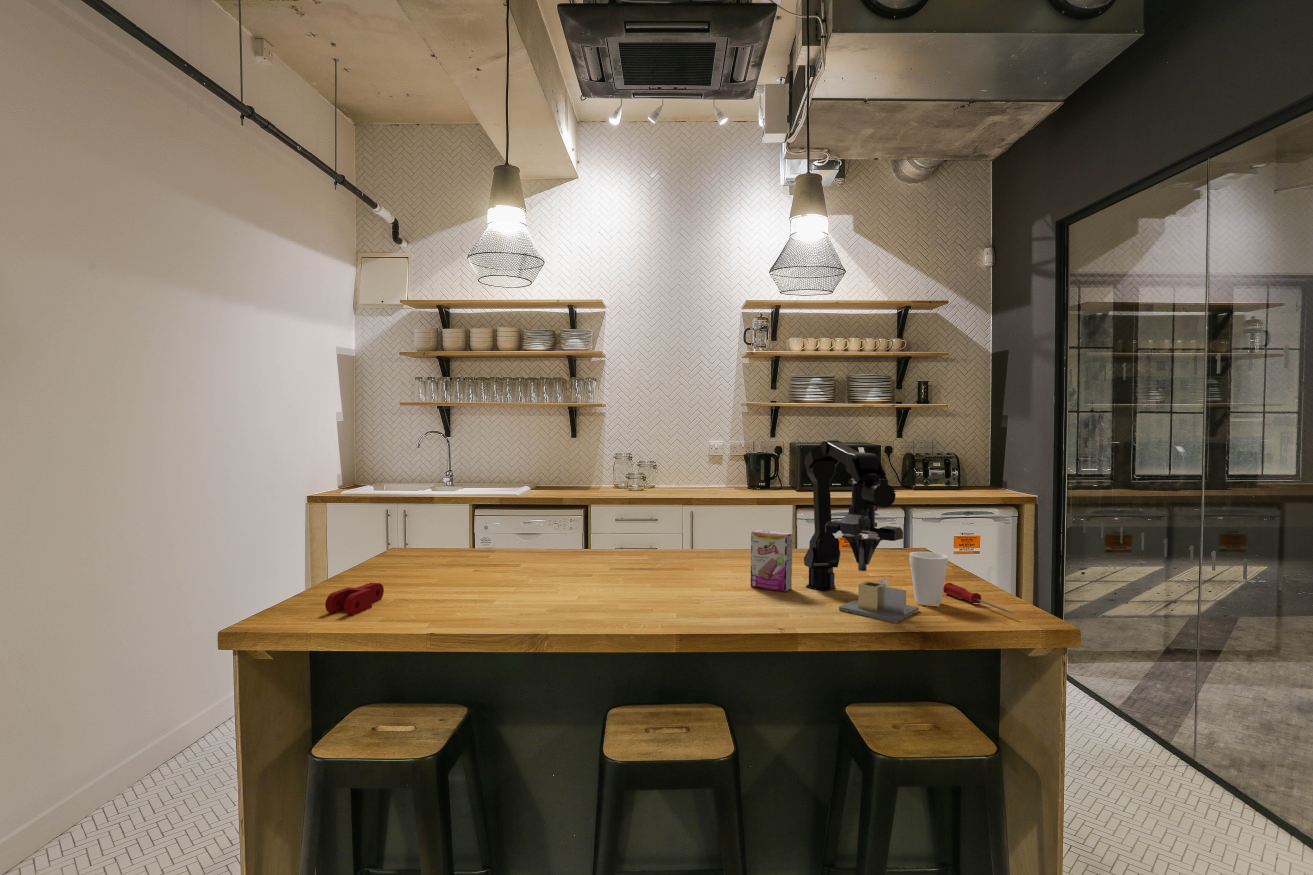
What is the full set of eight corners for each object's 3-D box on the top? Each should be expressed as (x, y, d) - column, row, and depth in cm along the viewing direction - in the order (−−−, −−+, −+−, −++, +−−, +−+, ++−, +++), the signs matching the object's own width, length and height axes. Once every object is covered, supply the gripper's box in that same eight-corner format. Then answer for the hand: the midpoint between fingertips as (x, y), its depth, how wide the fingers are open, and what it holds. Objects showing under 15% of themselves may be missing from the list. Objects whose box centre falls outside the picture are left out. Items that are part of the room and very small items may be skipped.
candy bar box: (749, 587, 188) (750, 531, 188) (756, 583, 192) (757, 529, 192) (786, 593, 182) (786, 535, 182) (792, 589, 186) (793, 532, 186)
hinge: (858, 607, 164) (858, 584, 164) (876, 599, 172) (877, 577, 172) (900, 616, 157) (901, 592, 157) (918, 607, 165) (918, 584, 165)
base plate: (839, 610, 165) (839, 606, 165) (863, 599, 175) (863, 596, 175) (896, 623, 155) (896, 618, 155) (918, 611, 165) (918, 607, 165)
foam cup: (906, 605, 171) (907, 556, 170) (910, 597, 179) (911, 550, 179) (946, 610, 166) (946, 560, 166) (948, 601, 174) (949, 553, 174)
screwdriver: (1006, 620, 158) (1007, 606, 158) (941, 594, 182) (941, 582, 182) (1019, 619, 159) (1019, 605, 159) (952, 593, 183) (952, 581, 183)
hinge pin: (856, 570, 164) (857, 538, 164) (860, 568, 166) (860, 538, 166) (864, 571, 163) (864, 539, 163) (867, 570, 164) (868, 538, 164)
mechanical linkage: (350, 617, 157) (350, 597, 157) (325, 615, 159) (325, 595, 159) (391, 600, 173) (391, 581, 173) (368, 598, 174) (368, 580, 174)
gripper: (814, 502, 165) (813, 562, 165) (884, 508, 152) (883, 574, 152) (836, 499, 173) (835, 556, 173) (904, 505, 160) (903, 567, 160)
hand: (862, 563), depth 165 cm, fingers closed on hinge pin, 2 cm apart
